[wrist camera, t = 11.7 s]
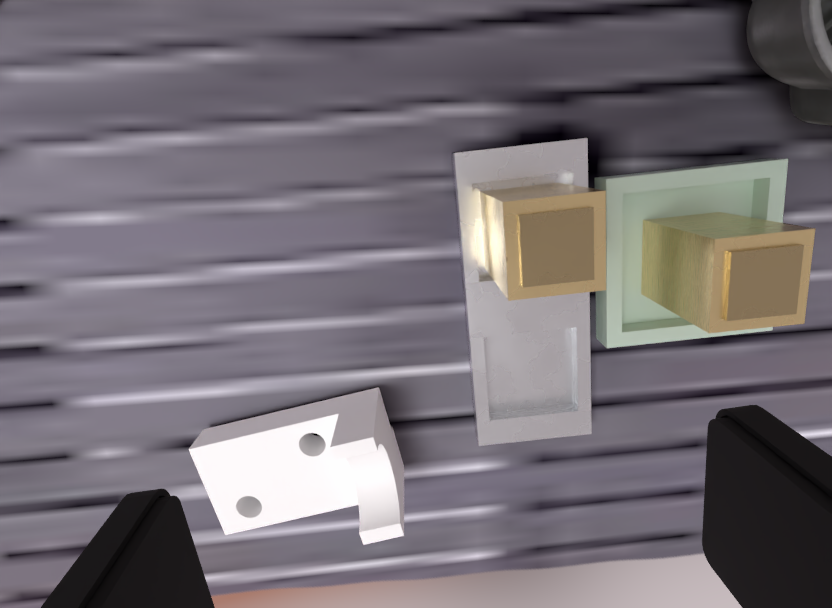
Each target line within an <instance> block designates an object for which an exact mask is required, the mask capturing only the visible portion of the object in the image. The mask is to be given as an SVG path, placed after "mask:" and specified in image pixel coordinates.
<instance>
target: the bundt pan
mask: <svg viewBox="0 0 832 608" xmlns="http://www.w3.org/2000/svg"><path fill="white" fill-rule="evenodd" d="M746 29H747V42H748V46H749V49H750V52H751V54H752V57H753V58H754V60H755V62H756V63H757V64H758V65H759V67H760V68H761V69H762V70H763V71H764V72H766V73H767V74H768V75H770V76H771V77H773V78H775V79H777V80H778V81H780V82H783V83H786V84H789V88H790V107H791V110H792V112H793V114H794V115H795V116H796V117H797V118H798V119H800V120H802V121H804V122H807V123H813V124H823V125H831V126H832V0H752V5H751V8H750V10H749V15H748V20H747V28H746Z"/></svg>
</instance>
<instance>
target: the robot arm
mask: <svg viewBox="0 0 832 608" xmlns="http://www.w3.org/2000/svg"><path fill="white" fill-rule="evenodd" d="M702 546H703V550H704V553H705V556H706V558H707V560H708V562H709V564H710V566H711V567H712V568H713V570H714V571H715V572H716V574H717V575H718V576H719V577H720V579H721V580H722V581H723V583H724V584H725V585H726V587H727V588H728V589H729V591H730V592H731V593H732V595H733V596H734V597H735V598H736V600H737V601H738V602H739V604H740V605H741V606H742V607H743V608H832V457H831V456H830V455H828V454H827V453H826V452H824V451H823V450H821V449H820V448H819V447H817V446H816V445H814V444H813V443H811V442H810V441H809V440H807V439H806V438H804V437H803V436H801V435H800V434H799V433H797V432H796V431H794V430H793V429H791V428H790V427H789V426H787V425H786V424H784V423H783V422H782V421H780V420H779V419H777V418H776V417H774V416H773V415H772V414H770V413H769V412H767V411H766V410H764V409H763V408H761V407H759V406H757V405H749V406H742V407H735V408H728V409H722V410H720V411H719V412H718V413H717V415H716V419H713V420H711V421H710V422H709V425H708V436H707V456H706V476H705V496H704V516H703V536H702ZM41 608H214V604H213V601H212V598H211V595H210V592H209V589H208V586H207V583H206V580H205V576H204V573H203V570H202V567H201V564H200V561H199V558H198V555H197V552H196V549H195V545H194V542H193V539H192V536H191V533H190V530H189V527H188V524H187V521H186V518H185V514H184V511H183V508H182V505H181V502H180V500H179V498H178V497H177V496H170V494H169V493H168V492H167V491H166V490H165V489H156V490H149V491H142V492H135V493H130V494H127V495H126V496H125V497H124V498H123V499H122V501H121V502H120V503H119V504H118V506H117V507H116V508H115V510H114V511H113V512H112V514H111V515H110V516H109V518H108V519H107V520H106V522H105V523H104V524H103V526H102V527H101V528H100V530H99V531H98V532H97V534H96V535H95V536H94V538H93V539H92V540H91V542H90V543H89V544H88V546H87V547H86V548H85V550H84V551H83V552H82V554H81V555H80V556H79V558H78V559H77V560H76V561H75V563H74V564H73V565H72V567H71V568H70V569H69V571H68V572H67V573H66V575H65V576H64V577H63V579H62V580H61V581H60V583H59V584H58V585H57V587H56V588H55V589H54V591H53V592H52V593H51V595H50V596H49V597H48V599H47V600H46V601H45V603H44V604H43V605H42V607H41Z"/></svg>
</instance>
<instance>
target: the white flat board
mask: <svg viewBox="0 0 832 608" xmlns="http://www.w3.org/2000/svg"><path fill="white" fill-rule="evenodd" d="M452 161H453V173H454V185H455V197H456V208H457V220H458V232H459V244H460V255H461V267H462V279H463V291H464V302H465V314H466V326H467V338H468V349H469V361H470V373H471V385H472V396H473V408H474V420H475V432H476V437H477V441H478V445H479V446H483V445H492V444H501V443H511V442H520V441H529V440H539V439H548V438H558V437H567V436H576V435H586V434H592V431H591V357H590V292H585V293H575V294H566V295H557V296H548V297H539V298H530V299H521V300H512V301H508V299H507V298H506V297H505V295H504V294H503V292H502V291H501V290H500V288H499V287H498V285H497V284H496V283H495V281H494V280H493V278H492V277H491V276H490V274H489V273H488V272H487V270H486V269H485V261H484V247H483V233H482V219H481V206H480V192H479V191H487V190H496V189H505V188H514V187H523V186H532V185H541V184H550V183H564V184H570V185H576V186H582V187H588V138H583V139H574V140H565V141H556V142H547V143H538V144H529V145H520V146H511V147H503V148H494V149H485V150H476V151H467V152H458V153H452Z"/></svg>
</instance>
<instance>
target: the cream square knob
mask: <svg viewBox="0 0 832 608" xmlns="http://www.w3.org/2000/svg"><path fill="white" fill-rule="evenodd" d="M479 192H480V206H481V219H482V233H483V247H484V261H485V269H486V270H487V272H488V273H489V274H490V276H491V277H492V278H493V280H494V281H495V283H496V284H497V285H498V287H499V288H500V290H501V291H502V292H503V294H504V295H505V297H506V298H507V299H508V301H512V300H521V299H530V298H539V297H548V296H557V295H566V294H575V293H585V292H594V291H603V290H606V191H605V190H600V189H594V188H588V187H582V186H576V185H570V184H564V183H550V184H541V185H532V186H523V187H514V188H505V189H496V190H487V191H479Z"/></svg>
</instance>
